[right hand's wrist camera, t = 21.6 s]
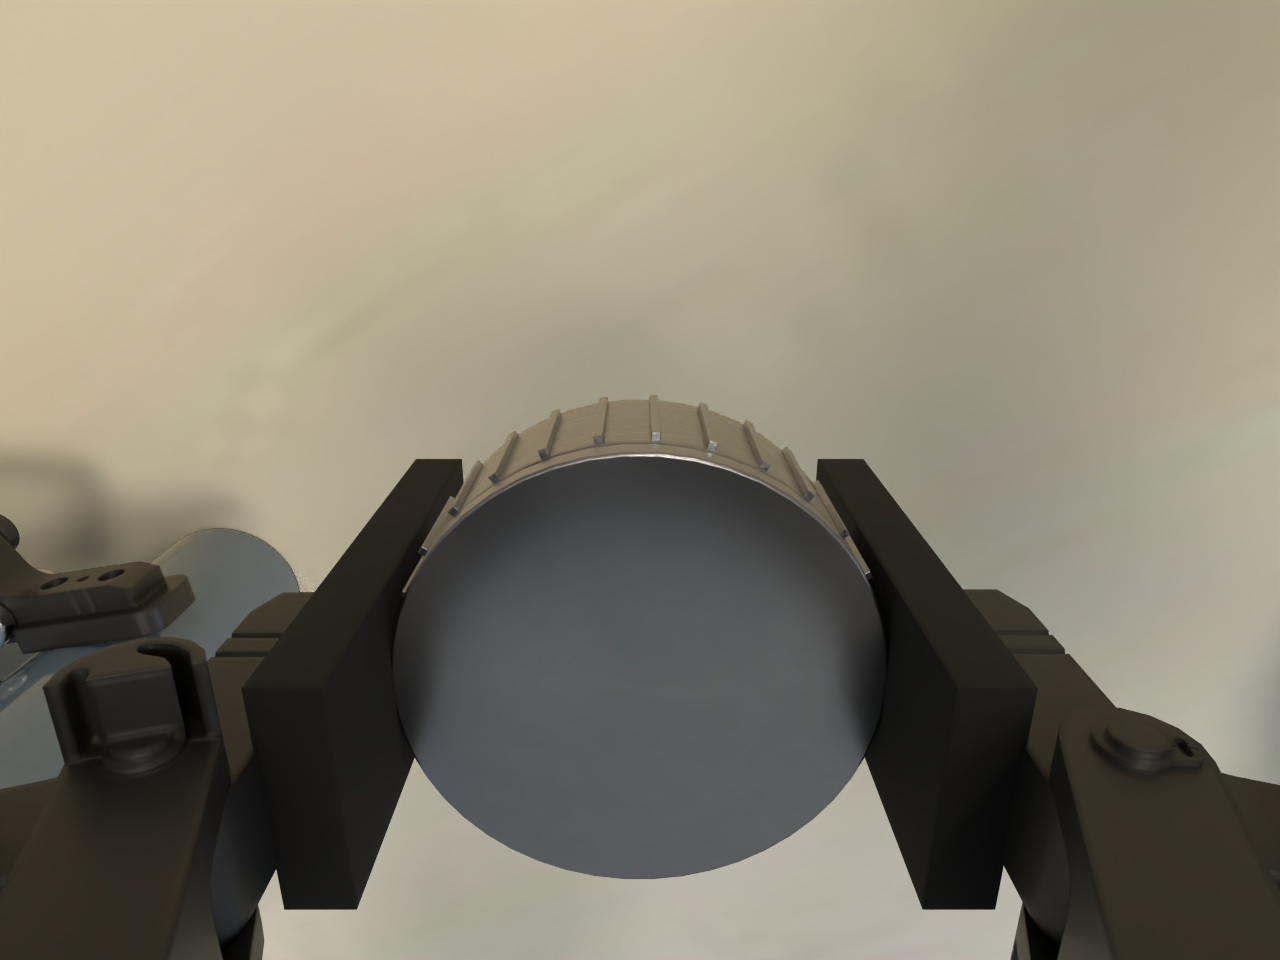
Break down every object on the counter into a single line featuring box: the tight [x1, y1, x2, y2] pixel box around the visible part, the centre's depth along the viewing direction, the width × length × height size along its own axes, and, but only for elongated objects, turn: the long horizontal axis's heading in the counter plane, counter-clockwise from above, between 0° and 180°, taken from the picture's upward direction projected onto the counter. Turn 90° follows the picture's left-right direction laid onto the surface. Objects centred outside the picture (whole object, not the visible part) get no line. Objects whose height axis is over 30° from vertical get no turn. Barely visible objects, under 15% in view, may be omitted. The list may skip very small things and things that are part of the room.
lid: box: [391, 395, 888, 879], centre depth 11 cm, size 6×6×2 cm
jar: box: [0, 529, 299, 789], centre depth 21 cm, size 5×5×18 cm
